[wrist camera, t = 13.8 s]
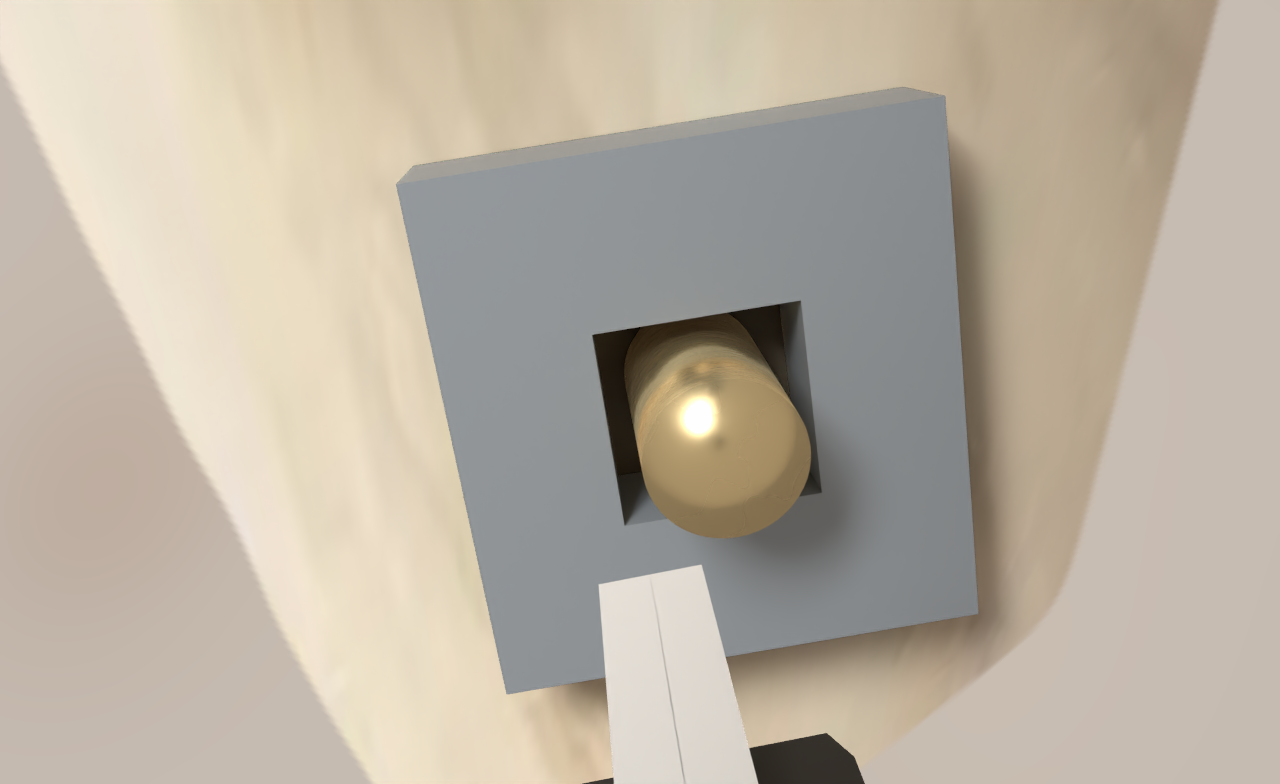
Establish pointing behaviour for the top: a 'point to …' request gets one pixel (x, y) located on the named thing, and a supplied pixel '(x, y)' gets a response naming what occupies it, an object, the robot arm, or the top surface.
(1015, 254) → the top surface
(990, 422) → the top surface
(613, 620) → the robot arm
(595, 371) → the jig
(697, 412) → the gold metal cylinder
